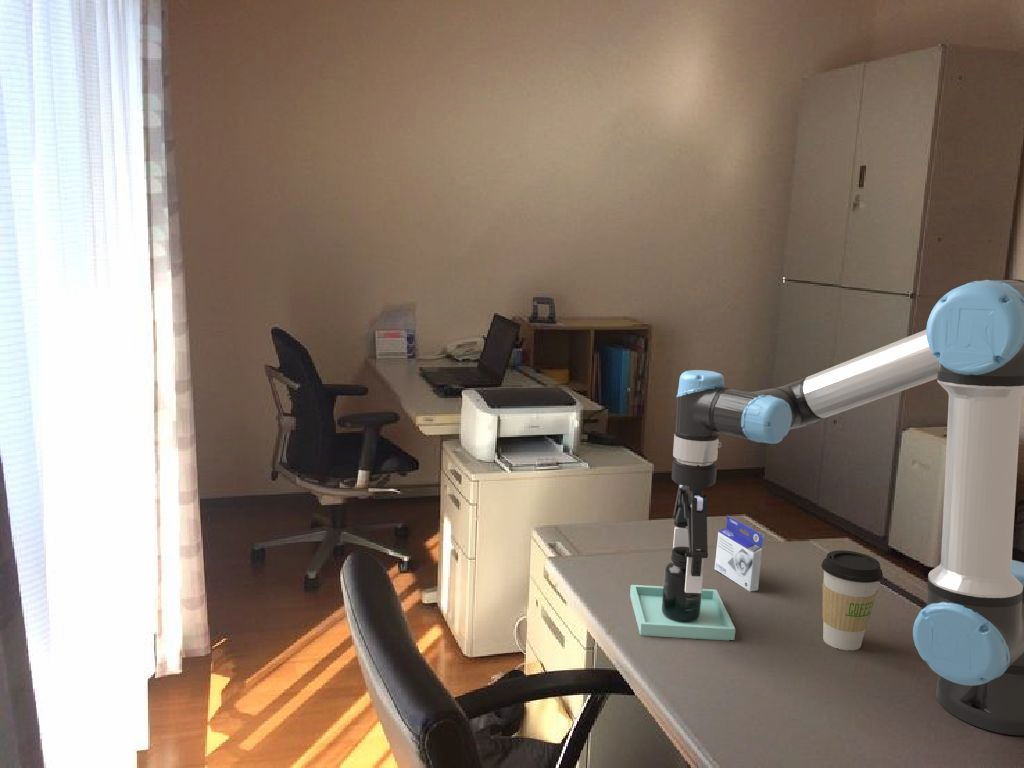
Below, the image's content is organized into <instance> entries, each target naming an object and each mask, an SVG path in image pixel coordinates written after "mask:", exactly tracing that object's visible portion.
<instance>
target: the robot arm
mask: <svg viewBox="0 0 1024 768" xmlns="http://www.w3.org/2000/svg"><path fill="white" fill-rule="evenodd" d="M925 328H926V329H924V330H921V331H919V332H917V333H914V334H912V335H909V336H906V337H904V338H901V339H899V340H897V341H894V342H892V343H889V344H887V345H884V346H881V347H879V348H877V349H874V350H871V351H868V352H866V353H864V354H861V355H859V356H856V357H854V358H852V359H851V358H850V359H849V360H847V361H844V362H841V363H839V364H836V365H834V366H831V367H829V368H826V369H823V370H821V371H819V372H817V373H814V374H811V375H809V376H806V377H803V378H800V379H798V380H795V381H793V382H790V383H788V384H785V385H782V386H778V387H772V388H766V389H763V390H756V391H745V390H744V391H743V390H738V389H732V388H728V387H726V386H725V378H724V375H723V374H722V373H719V372H716V371H712V370H706V369H705V370H704V369H703V370H702V369H694V370H693V369H692V370H686V371H684V372H682V373H681V374H680V376H679V380H678V381H679V382H678V388H677V394H676V417H675V418H676V419H675V420H676V421H675V430H674V431H675V432H674V435H673V447H672V448H673V449H672V456H673V458H674V459H673V460H672V467H671V480H672V481H673V482H674V483H675V484H678V489H677V492H676V498H675V504H674V508H673V509H674V510H673V514H672V519H673V520H674V522H673V524H674V531H673V532H674V533H673V544H672V549H673V548H675V547H681V546H682V547H689V552H686V553H685V557H687V567H686V580H685V593H701V592H702V589H703V586H702V580H703V581H704V566H705V559H708V556H709V551H708V503H709V501H708V497H707V496H706V494H704V492H703V491H704V489H705V488H706V487H708V488H709V487H711V486H713V485H715V484H716V480H717V472H718V471H717V470H718V464H717V462H716V461H717V460H718V452H719V451H718V449H720V448H722V442H721V441H719V438H720V433H721V434H725V435H729V436H733V437H737V438H742V439H746V440H749V441H752V442H755V443H760V444H761V443H765V444H771V445H773V444H774V445H775V444H778V443H780V442H782V441H783V439H784V438H785V437H786V436H787V435H788V433H789V432H790V430H794V429H801V428H805V427H808V426H810V425H812V424H814V423H816V422H818V421H821V420H824V419H826V418H828V417H832V416H835V415H838V414H840V413H843V412H846V411H849V410H852V409H854V408H857V407H860V406H863V405H865V404H869V403H872V402H873V401H877V400H879V399H883V398H885V397H889V396H891V395H894V394H898V393H900V392H902V391H906V390H908V389H910V388H915V387H917V386H920V385H922V384H926V383H928V382H932V381H934V380H937V383H938V384H939V385H940V386H941V387H942V388H943V389H944V391H946V392H947V394H948V408H947V409H948V410H947V425H946V426H947V427H946V428H947V429H946V430H947V431H946V446H945V447H946V449H945V450H946V451H945V467H944V469H945V470H944V491H943V508H942V510H943V513H942V532H941V533H942V534H941V551H940V552H941V553H940V563H939V565H937V566H935V567H934V568H933V569H931V570H930V571H928V572H929V573H928V575H927V576H928V577H927V588H926V589H927V591H926V592H927V593H926V606H925V607H923V608H922V609H921V610H920V611H919V612H918V614H917V616H916V618H915V620H914V623H913V627H912V637H913V642H914V646H915V647H916V650H917V653H918V654H919V656H920V658H921V659H922V660H923V661H924V662H925V663H926V664H927V665H928V666H929V668H930V669H931V671H933V672H934V673H936V674H937V675H938V678H937V681H936V688H935V697H936V700H937V701H938V703H939V704H940V705H941V706H942V707H943V708H944V709H945V710H946V711H948V712H949V714H952V715H953V716H955V717H956V718H957V719H960V720H961V721H963V722H965V723H968V724H970V725H972V726H975V727H977V728H981V729H983V730H986V731H990V732H993V733H998V734H1002V735H1011V736H1024V562H1022V561H1019V560H1014V559H1013V548H1014V529H1015V527H1014V526H1015V511H1016V510H1015V508H1016V495H1017V494H1016V493H1017V478H1018V476H1017V475H1018V462H1019V460H1018V459H1019V443H1020V423H1021V409H1022V398H1023V397H1024V279H1017V278H1016V279H1013V278H1012V279H999V280H992V279H991V280H989V279H985V280H975V281H971V282H968V283H965V284H963V285H960V286H958V287H955V288H953V289H951V290H950V291H948V292H947V293H945V294H944V295H942V297H941V298H940V299H939V300H938V301H937V302H936V303H935V305H934V306H933V308H932V310H931V312H930V314H929V317H928V319H927V322H926V327H925Z"/></svg>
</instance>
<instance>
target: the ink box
mask: <svg viewBox="0 0 1024 768" xmlns="http://www.w3.org/2000/svg"><path fill="white" fill-rule="evenodd" d="M741 530H743V531H744V530H745V532H746V533H748V534H745V533H744V532H742V531H741ZM765 537H766V535H765V534H763V533H761V532H759V531H757V530H755V529H753V528H751V526H748V525H746V524H744V523H742V522H741V521H739V520H738V519H736V518H733V517H731V516H729V515H726V526H725V527H724V528H722V529H720V530H718V531H717V540H716V541H717V543H716V553H715V560H714V567H713V568H714V570H715V571H717V572H719V573H720V574H722V575H723V576H725V577H726V578H727V579H729V580H731V581H733V582H734V583H736V584H737V585H739V586H740V587H741V588H744V589H745V590H746V591H748V592H749V593H750V592H751V593H752V592H756V591H757V592H758V590H759V584H760V573H761V563H762V562H761V561H762V553H763V546H764V541H765Z"/></svg>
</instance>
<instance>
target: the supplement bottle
mask: <svg viewBox="0 0 1024 768" xmlns="http://www.w3.org/2000/svg"><path fill="white" fill-rule="evenodd" d="M686 552H689V547H682V546H681V547H675V548H673V547H672V549H671V557H670V562H668V563H667V564H666V566H665V567H664V572H663V573H664V574H663V584H662V587H663V597H662V613H663V614H664V615H665V616H666V617H667V618H669V619H672V620H675V621H681V622H689V621H694V620H696V619H697V618H698V617H699V615H700V609H701V597H702V592H701V593H685V580H686V567H687V557H685V553H686ZM703 583H704V579H703V580H702V587H703Z"/></svg>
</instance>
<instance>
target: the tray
mask: <svg viewBox="0 0 1024 768" xmlns="http://www.w3.org/2000/svg"><path fill="white" fill-rule="evenodd" d="M629 590H630V591H629V598H630V601H631V605H632V609H633V612H634V616H635V620H636V621H635V622H636V624H637V628H638V632H639V635H640V636H643V637H644V636H646V637H661V638H662V637H664V638H682V639H683V638H684V639H696V640H698V639H699V640H715V641H717V640H718V641H729V640H734V641H735V636H736V628H735V626H734V623H733V621H732V618H731V617H730V615H729V612H728V610H727V608H726V607H725V604H724V602H723V600H722V598H721V595H720V594H719V592H718V590H717V589H715V588H714V589H711V588H702V597H701V609H700V615H699V617H698V618H697V619H696V620H694V621H689V622H681V621H675V620H672V619H669V618H667V617H666V616H665V615H664V614H663V613H662V597H663V585H661V586H659V585H640V584H630V589H629Z"/></svg>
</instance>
